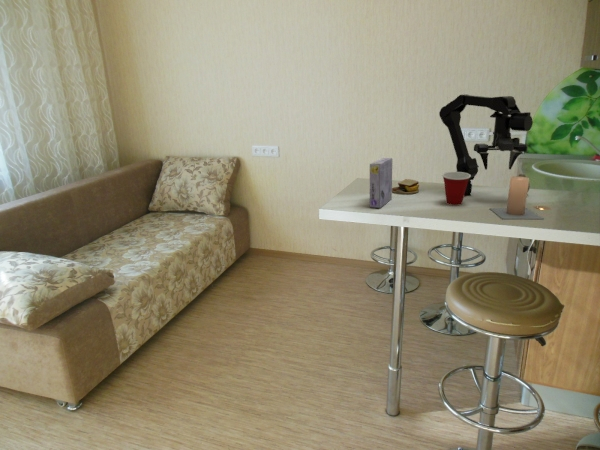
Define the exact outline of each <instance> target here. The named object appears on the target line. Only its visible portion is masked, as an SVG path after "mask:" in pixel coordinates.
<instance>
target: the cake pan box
mask: <svg viewBox="0 0 600 450" xmlns="http://www.w3.org/2000/svg"><path fill="white" fill-rule="evenodd" d="M392 188H393V158H392V157H385V158H384V157H383V158H380V159H378V160H376V161H374V162H371V163H369V208H373V209H381V208H382V207H384V206H386V204H387V205H388V202H390V201H391V200H392V198H393V192H392Z"/></svg>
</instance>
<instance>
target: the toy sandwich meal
mask: <svg viewBox="0 0 600 450" xmlns="http://www.w3.org/2000/svg"><path fill="white" fill-rule="evenodd" d="M397 185H398V186H394V187H392V194H393V193H394V194H398V195H415V194H417V193H418V192H419V191H420V189H419V187H420V184H419V181H418V180H415V179H411V178H405V179H404V180H401V181H399V182H398V183H397Z"/></svg>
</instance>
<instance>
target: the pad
mask: <svg viewBox="0 0 600 450" xmlns="http://www.w3.org/2000/svg"><path fill="white" fill-rule="evenodd" d="M489 210H490V211H491V212H492V213H493V214H494V215H496V216H497V217H499V218H500V219H501V220H509V221H510V220H511V221H512V220H514V221H515V220H517V221H518V220H527V221H528V220H530V221H531V220H536V221H537V220H543V221H544V220H545V218H544V217H543V216H541V215H539V214H537V213H536V212H535V211H533V210H531V209H530V208H528V207H527V208H526V207H525V214H524V215H510V214H507V213H506V212H507V207H506V208H505V207H501V208H499V207H498V208H497V207H496V208H495V207H494V208H493V207H492V208H489Z"/></svg>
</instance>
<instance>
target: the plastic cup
mask: <svg viewBox="0 0 600 450" xmlns="http://www.w3.org/2000/svg"><path fill="white" fill-rule="evenodd" d="M441 176H442V178H443V182H444V184H443V185H444V194H445V200H446V201H445V202H446V204H448V205H452V206H460V205H462V203H463V201H464V197H465V196H464V194H465V191H466V187H467V183H468V181H469V178H470V177H471V175H470V174H468V173H464V172H456V171H447V172H444V173H442V175H441Z"/></svg>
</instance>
